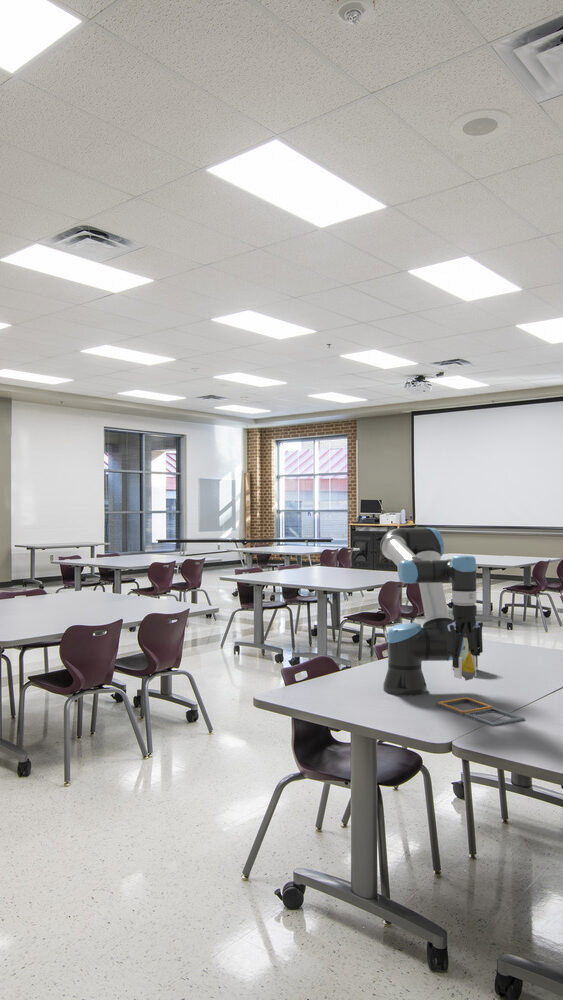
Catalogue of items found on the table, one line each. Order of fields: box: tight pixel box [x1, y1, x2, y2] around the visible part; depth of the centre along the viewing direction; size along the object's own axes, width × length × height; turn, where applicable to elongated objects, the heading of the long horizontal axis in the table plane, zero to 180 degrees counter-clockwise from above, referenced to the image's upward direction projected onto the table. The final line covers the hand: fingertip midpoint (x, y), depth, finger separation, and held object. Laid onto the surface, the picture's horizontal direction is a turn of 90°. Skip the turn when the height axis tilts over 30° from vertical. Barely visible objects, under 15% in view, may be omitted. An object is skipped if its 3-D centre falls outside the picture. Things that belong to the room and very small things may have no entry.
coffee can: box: [451, 634, 479, 670], centre depth 273 cm, size 10×10×14 cm
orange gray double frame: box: [435, 696, 526, 727], centre depth 211 cm, size 25×13×1 cm, turn 27°
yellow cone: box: [462, 651, 477, 681], centre depth 216 cm, size 5×5×10 cm
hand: (465, 676), depth 216 cm, fingers closed on yellow cone, 5 cm apart
